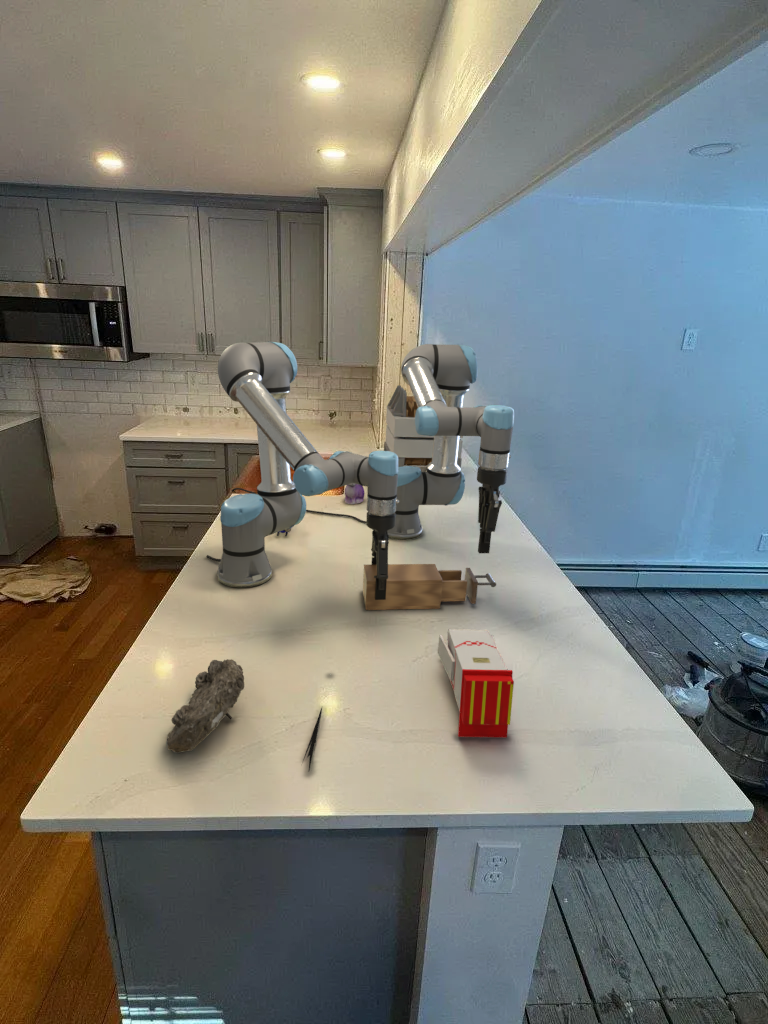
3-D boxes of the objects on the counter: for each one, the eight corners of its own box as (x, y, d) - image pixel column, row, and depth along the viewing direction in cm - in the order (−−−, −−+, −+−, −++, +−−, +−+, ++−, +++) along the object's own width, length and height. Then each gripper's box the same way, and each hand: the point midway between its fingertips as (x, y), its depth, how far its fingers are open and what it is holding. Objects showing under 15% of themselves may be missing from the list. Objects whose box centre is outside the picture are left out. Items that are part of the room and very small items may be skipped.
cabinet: (433, 591, 160) (435, 563, 157) (440, 608, 151) (442, 580, 148) (362, 592, 158) (363, 564, 155) (365, 610, 149) (366, 581, 146)
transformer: (382, 463, 289) (386, 382, 275) (445, 464, 293) (451, 384, 279) (390, 482, 257) (394, 392, 243) (460, 483, 261) (468, 394, 247)
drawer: (487, 588, 161) (489, 567, 159) (496, 603, 153) (498, 581, 151) (402, 589, 158) (403, 568, 156) (407, 604, 150) (408, 582, 148)
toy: (488, 613, 130) (523, 677, 101) (484, 667, 133) (517, 744, 104) (435, 612, 130) (455, 676, 101) (432, 666, 133) (451, 743, 103)
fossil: (192, 660, 117) (244, 628, 112) (224, 691, 120) (276, 661, 115) (142, 746, 98) (202, 712, 93) (182, 779, 101) (242, 748, 96)
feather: (331, 679, 122) (336, 673, 122) (307, 777, 96) (313, 769, 95) (324, 675, 122) (329, 669, 121) (298, 772, 95) (304, 764, 95)
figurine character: (291, 542, 192) (296, 522, 205) (290, 522, 188) (296, 503, 202) (271, 542, 191) (278, 521, 205) (270, 522, 188) (277, 502, 201)
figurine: (348, 506, 225) (349, 469, 220) (338, 498, 233) (339, 463, 228) (369, 503, 229) (371, 467, 224) (359, 496, 237) (360, 461, 232)
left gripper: (402, 528, 135) (397, 610, 142) (390, 497, 156) (386, 569, 164) (370, 528, 134) (367, 610, 141) (363, 497, 155) (361, 570, 163)
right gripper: (515, 474, 139) (504, 562, 147) (499, 461, 151) (490, 542, 159) (485, 474, 138) (476, 562, 146) (472, 460, 150) (463, 542, 158)
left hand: (378, 588), depth 153 cm, fingers open, 11 cm apart
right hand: (483, 552), depth 152 cm, fingers closed
